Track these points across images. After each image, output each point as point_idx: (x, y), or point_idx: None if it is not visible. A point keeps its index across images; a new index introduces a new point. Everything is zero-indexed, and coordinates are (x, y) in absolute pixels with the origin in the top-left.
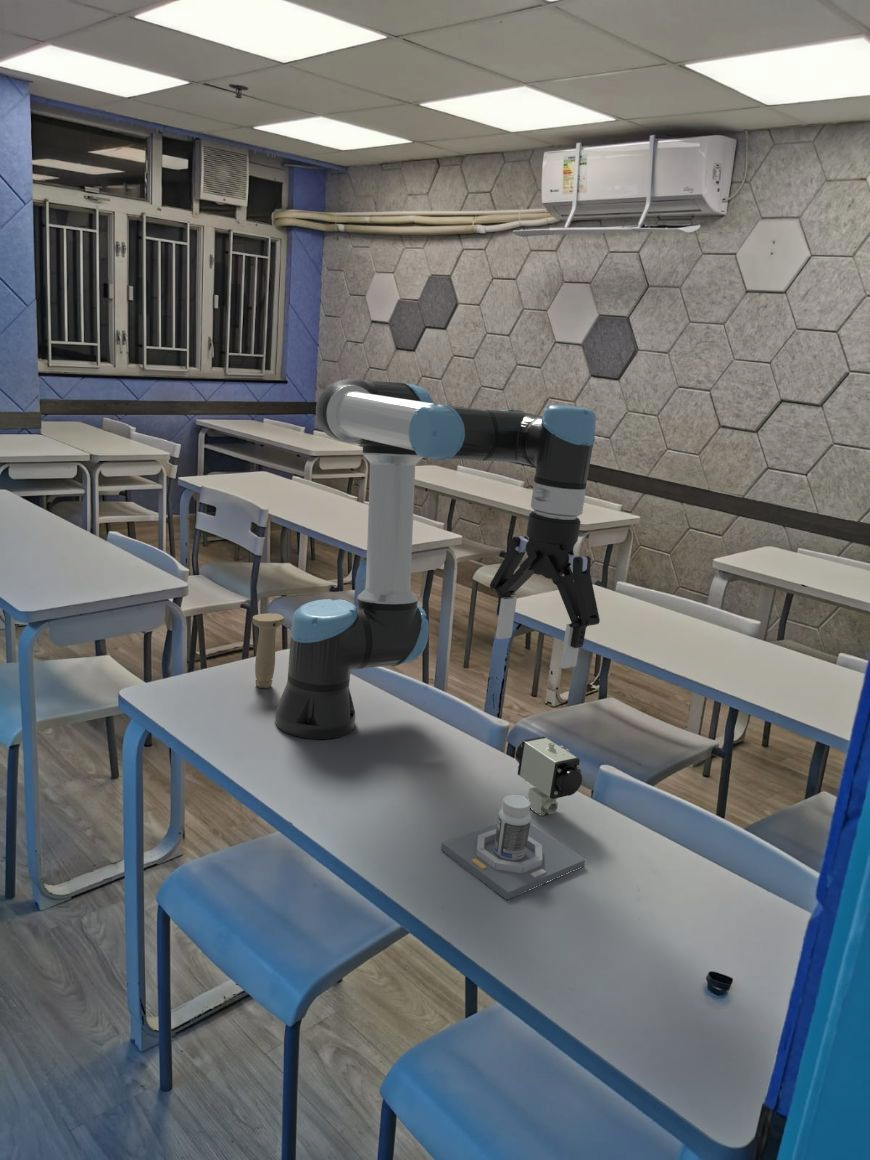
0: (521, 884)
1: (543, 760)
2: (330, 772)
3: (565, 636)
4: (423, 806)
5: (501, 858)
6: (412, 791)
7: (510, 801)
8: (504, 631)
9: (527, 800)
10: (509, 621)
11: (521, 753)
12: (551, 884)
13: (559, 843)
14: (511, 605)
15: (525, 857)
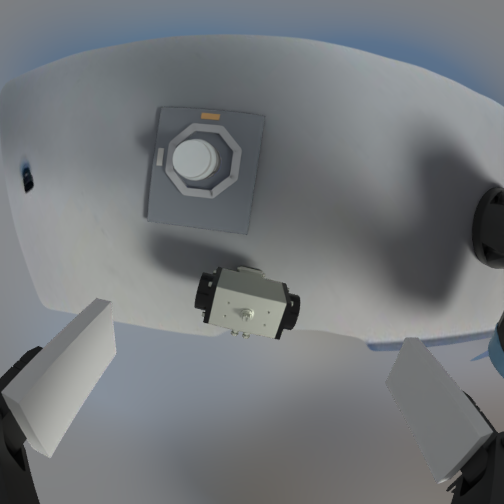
0: (160, 127)
1: (241, 288)
2: (439, 155)
3: (46, 365)
4: (339, 173)
5: None
6: (368, 190)
7: (195, 150)
8: (408, 370)
9: (182, 172)
10: (414, 405)
11: (287, 295)
12: (151, 165)
13: (181, 224)
14: (440, 448)
15: None
